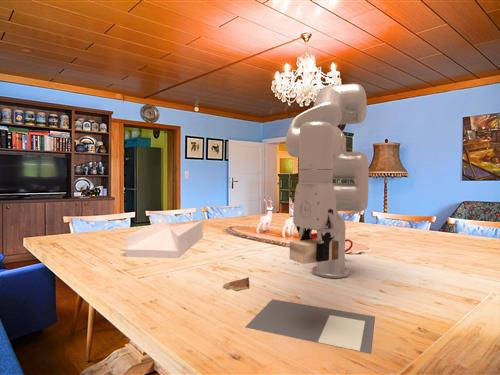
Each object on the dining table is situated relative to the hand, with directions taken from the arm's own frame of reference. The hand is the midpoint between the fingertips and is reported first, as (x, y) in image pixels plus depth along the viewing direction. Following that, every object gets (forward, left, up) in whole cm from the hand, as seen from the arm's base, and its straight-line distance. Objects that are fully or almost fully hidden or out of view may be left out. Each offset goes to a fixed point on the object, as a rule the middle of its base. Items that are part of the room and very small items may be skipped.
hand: (314, 257), depth 74 cm
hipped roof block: (-54, -81, -16) cm, 99 cm away
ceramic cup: (-60, -6, -16) cm, 62 cm away
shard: (-16, -27, -16) cm, 35 cm away
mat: (0, 0, -16) cm, 16 cm away
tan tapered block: (0, 0, 0) cm, 0 cm away
